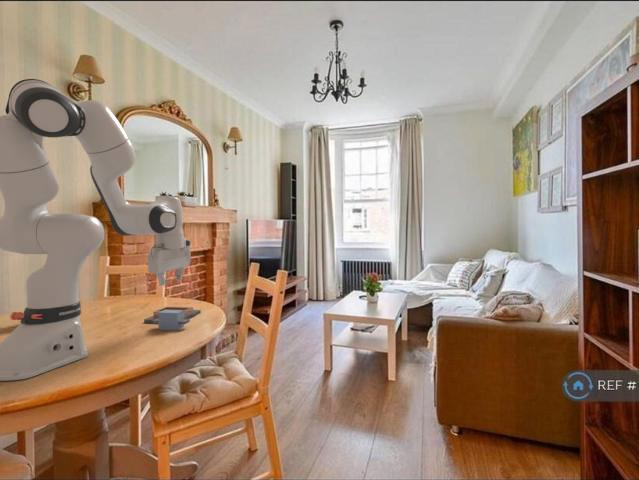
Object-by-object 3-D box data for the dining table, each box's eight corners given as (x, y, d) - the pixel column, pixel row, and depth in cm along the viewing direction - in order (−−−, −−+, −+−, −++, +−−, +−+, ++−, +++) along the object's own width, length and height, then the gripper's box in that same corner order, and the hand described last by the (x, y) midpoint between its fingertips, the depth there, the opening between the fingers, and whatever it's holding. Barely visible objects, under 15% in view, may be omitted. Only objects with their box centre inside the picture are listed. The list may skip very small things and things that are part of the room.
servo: (184, 330, 115) (184, 313, 115) (152, 329, 117) (151, 312, 116) (190, 327, 119) (190, 310, 119) (159, 326, 121) (158, 309, 120)
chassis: (179, 323, 123) (179, 315, 123) (144, 322, 125) (143, 314, 124) (200, 313, 138) (200, 305, 138) (169, 312, 140) (168, 304, 140)
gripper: (160, 245, 106) (161, 288, 107) (193, 241, 126) (194, 277, 127) (141, 245, 107) (143, 288, 108) (177, 241, 127) (178, 277, 128)
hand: (171, 282), depth 117 cm, fingers open, 8 cm apart
